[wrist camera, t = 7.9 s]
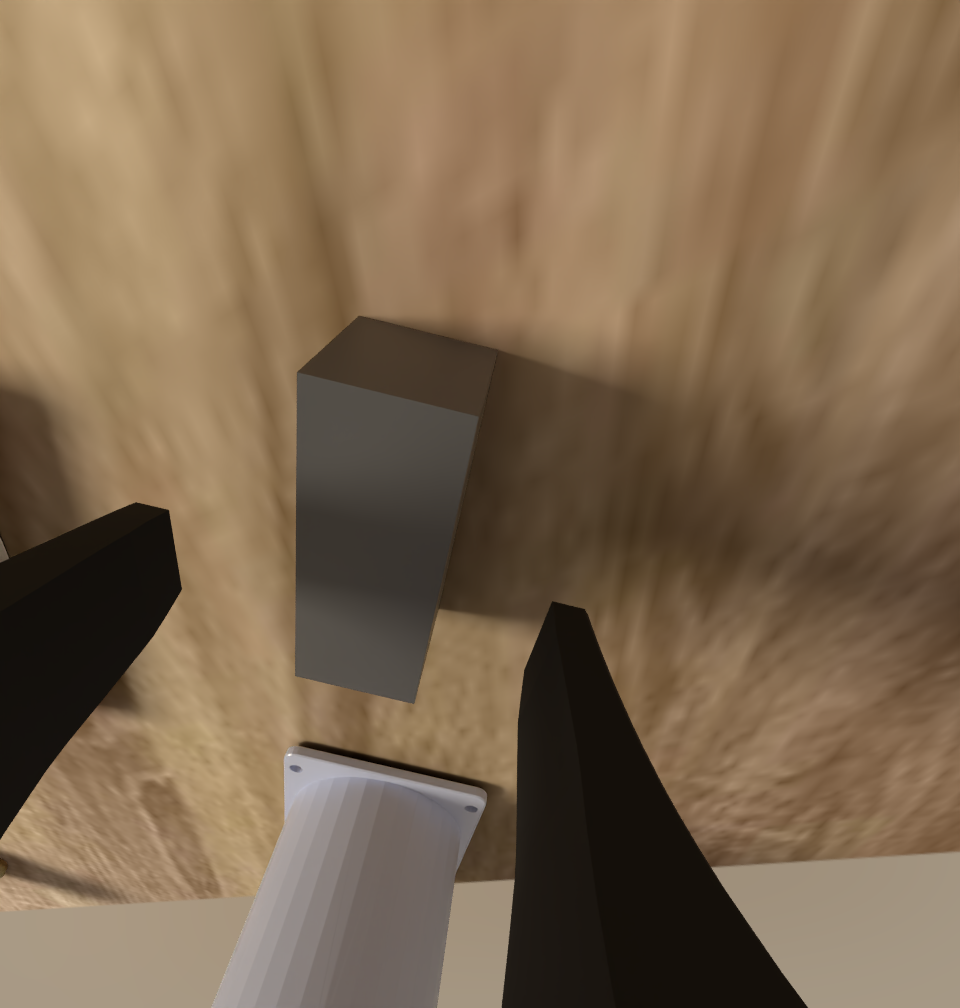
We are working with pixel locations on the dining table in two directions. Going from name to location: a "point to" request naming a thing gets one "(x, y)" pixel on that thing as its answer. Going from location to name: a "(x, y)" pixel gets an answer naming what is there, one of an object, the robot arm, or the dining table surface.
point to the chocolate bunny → (3, 867)
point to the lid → (380, 498)
